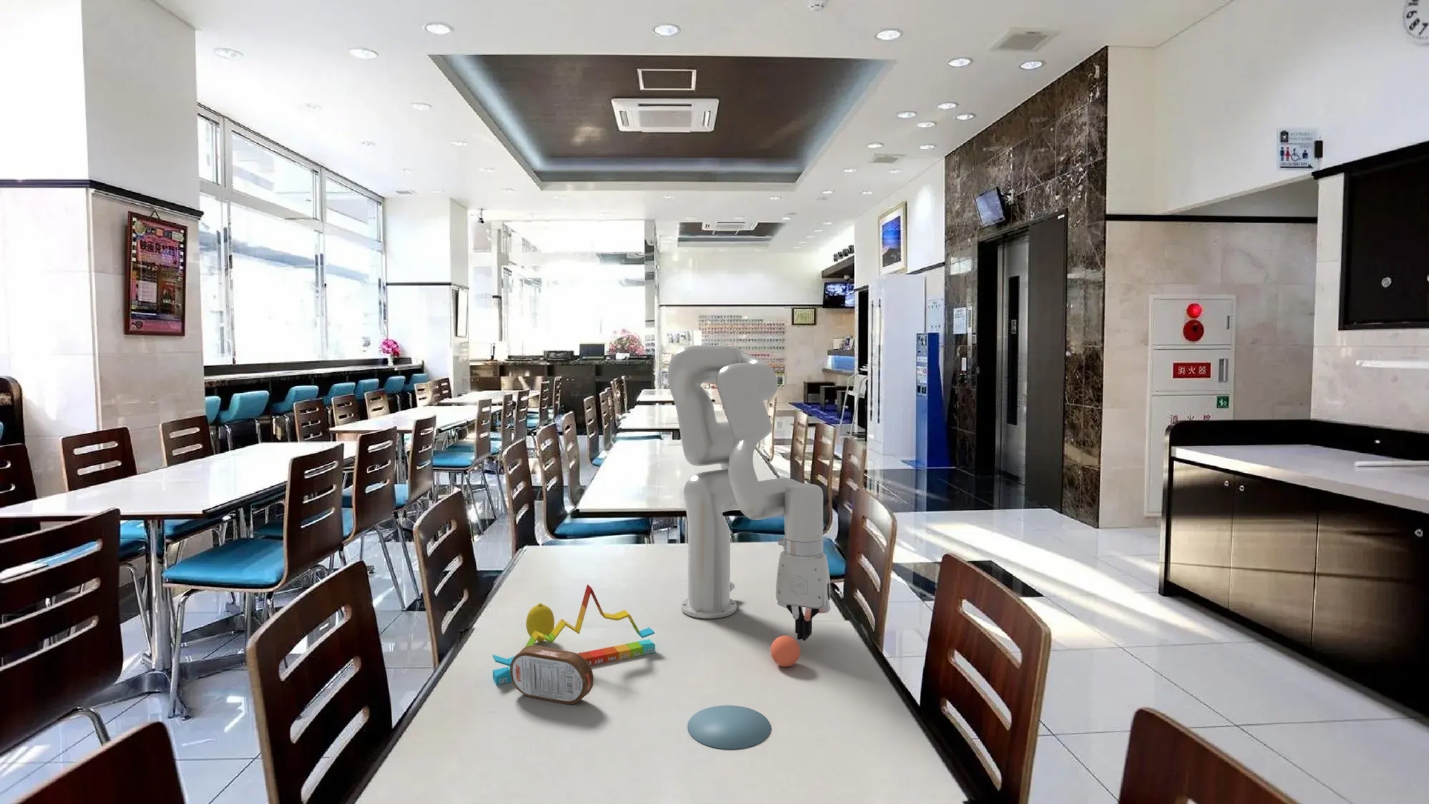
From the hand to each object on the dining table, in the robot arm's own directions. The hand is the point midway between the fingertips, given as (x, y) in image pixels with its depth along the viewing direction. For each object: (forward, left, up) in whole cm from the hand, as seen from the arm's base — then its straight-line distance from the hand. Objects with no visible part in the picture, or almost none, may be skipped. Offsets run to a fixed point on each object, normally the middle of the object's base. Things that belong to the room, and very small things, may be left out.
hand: (803, 637), depth 145 cm
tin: (+39, -31, -2) cm, 50 cm away
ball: (+9, 0, +1) cm, 9 cm away
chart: (+27, -35, -3) cm, 44 cm away
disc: (+34, 0, -2) cm, 34 cm away
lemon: (+21, -48, -2) cm, 53 cm away
